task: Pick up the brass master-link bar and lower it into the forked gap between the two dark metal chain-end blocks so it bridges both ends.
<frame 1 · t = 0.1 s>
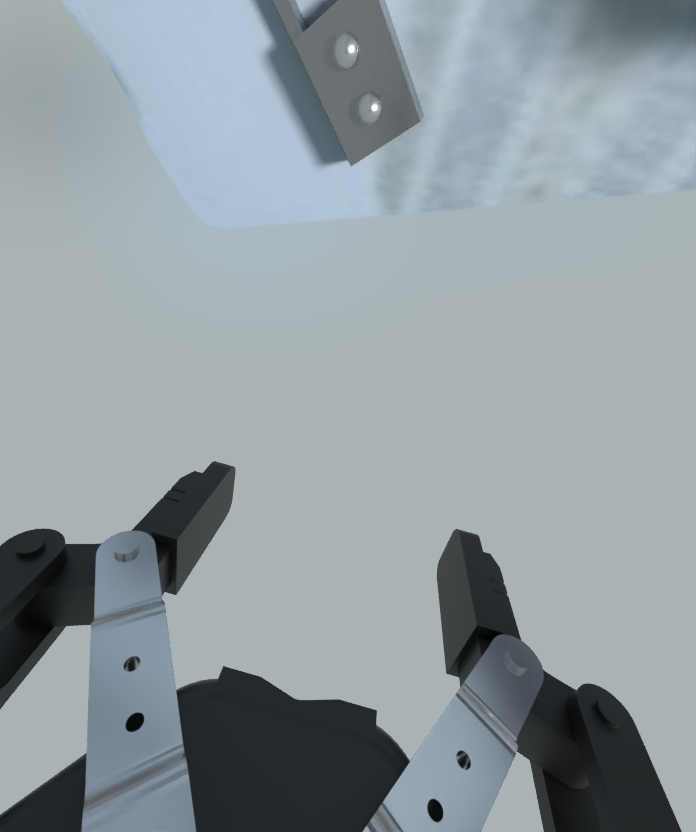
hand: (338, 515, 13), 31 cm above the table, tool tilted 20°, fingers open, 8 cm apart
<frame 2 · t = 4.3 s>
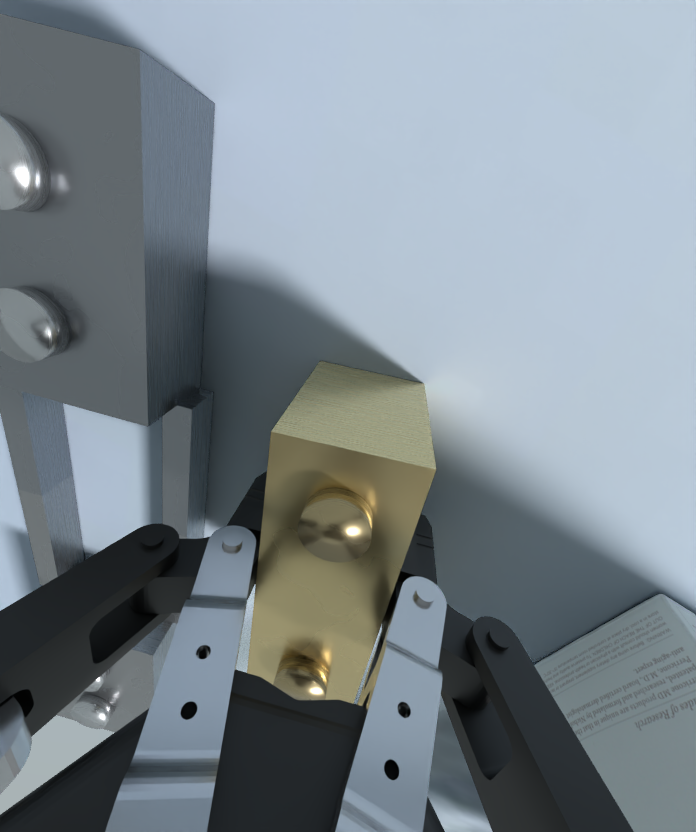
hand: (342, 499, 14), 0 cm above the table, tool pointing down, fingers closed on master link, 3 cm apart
chain end b: (127, 489, 16), on the table
chain end a: (127, 489, 16), on the table
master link: (345, 491, 14), on the table, touching gripper
supplement box: (642, 664, 16), on the table
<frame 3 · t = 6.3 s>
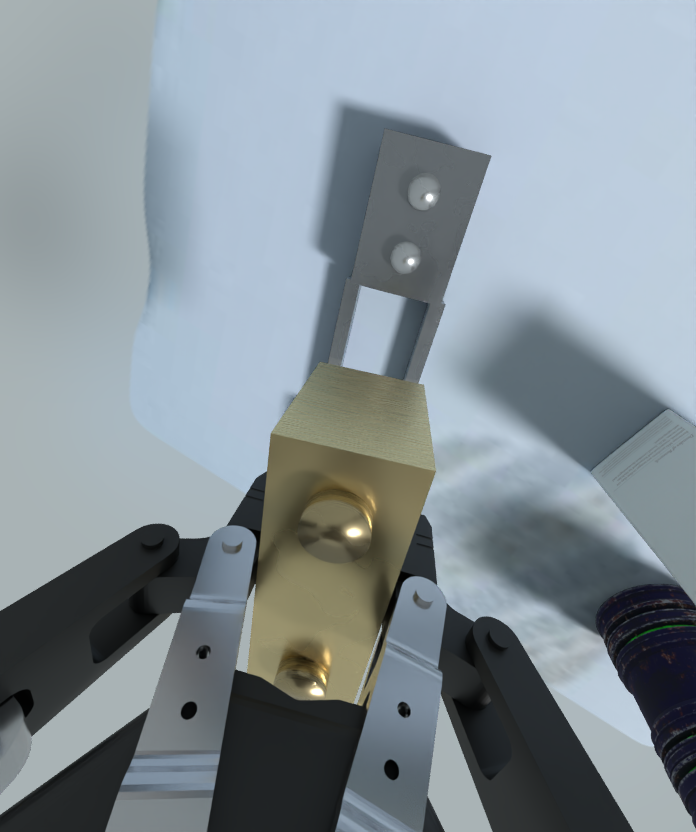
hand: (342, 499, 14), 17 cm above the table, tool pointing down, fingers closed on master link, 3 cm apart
chain end a: (375, 362, 29), on the table
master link: (344, 492, 14), point 16 cm above the table, touching gripper
supplement box: (656, 463, 29), on the table
dark purple cylinder: (648, 616, 37), on the table
when the fingers open (2 cm above the table, at t = 8.4 s): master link drops 2 cm, on the table.
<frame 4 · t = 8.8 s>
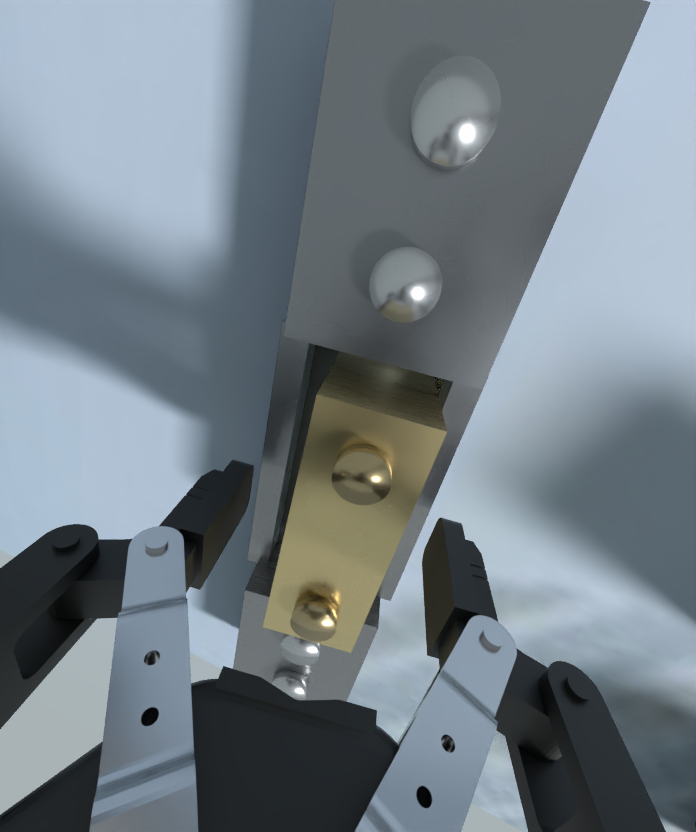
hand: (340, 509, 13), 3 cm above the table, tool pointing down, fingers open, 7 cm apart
chain end b: (350, 464, 16), on the table
chain end a: (350, 464, 16), on the table
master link: (355, 463, 16), on the table
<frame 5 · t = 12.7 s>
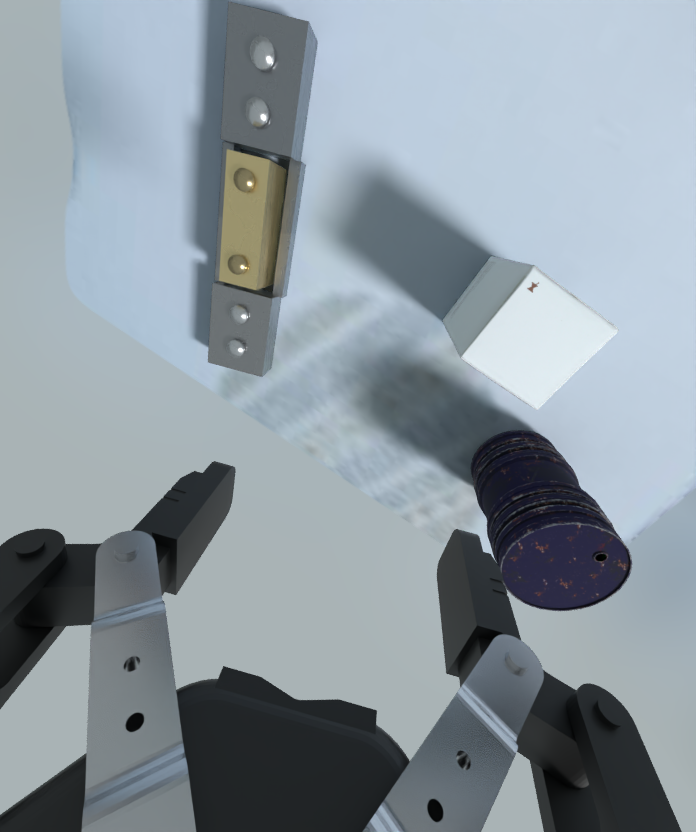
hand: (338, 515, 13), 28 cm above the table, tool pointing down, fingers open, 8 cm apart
chain end b: (260, 226, 35), on the table
chain end a: (260, 226, 35), on the table
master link: (262, 226, 35), on the table
supplement box: (493, 310, 36), on the table
dark purple cylinder: (513, 465, 43), on the table
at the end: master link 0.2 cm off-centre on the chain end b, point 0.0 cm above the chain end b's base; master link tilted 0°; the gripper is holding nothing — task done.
